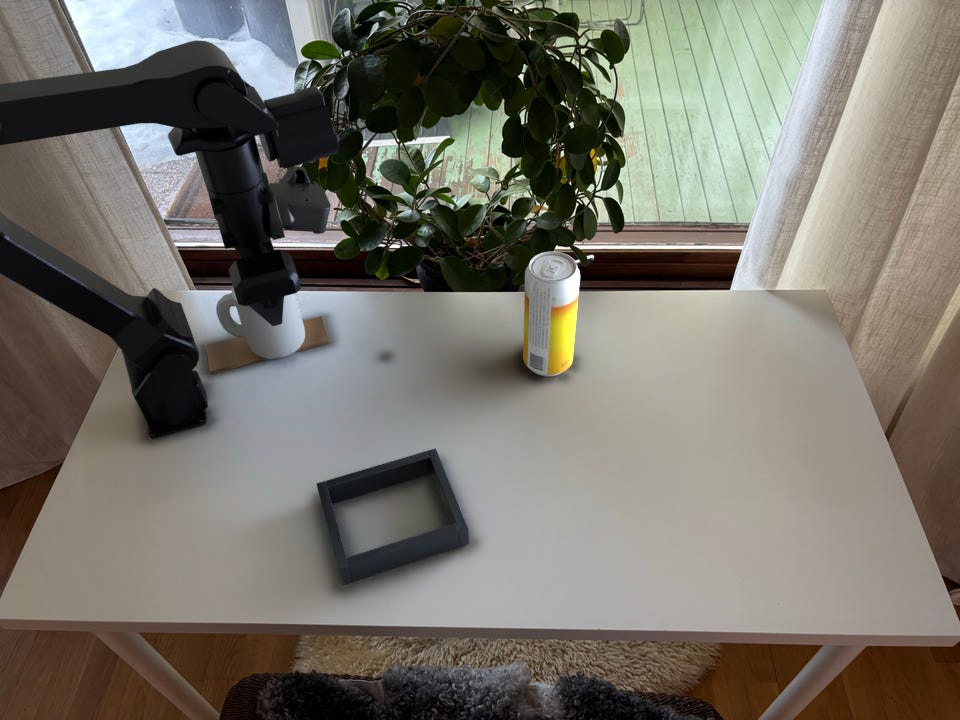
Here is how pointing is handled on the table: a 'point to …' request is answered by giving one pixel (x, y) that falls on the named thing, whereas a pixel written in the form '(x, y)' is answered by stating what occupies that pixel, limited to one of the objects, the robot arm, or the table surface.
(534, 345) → the beer can
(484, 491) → the table surface
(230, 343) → the cork mat
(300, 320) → the cup
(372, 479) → the rectangular frame
